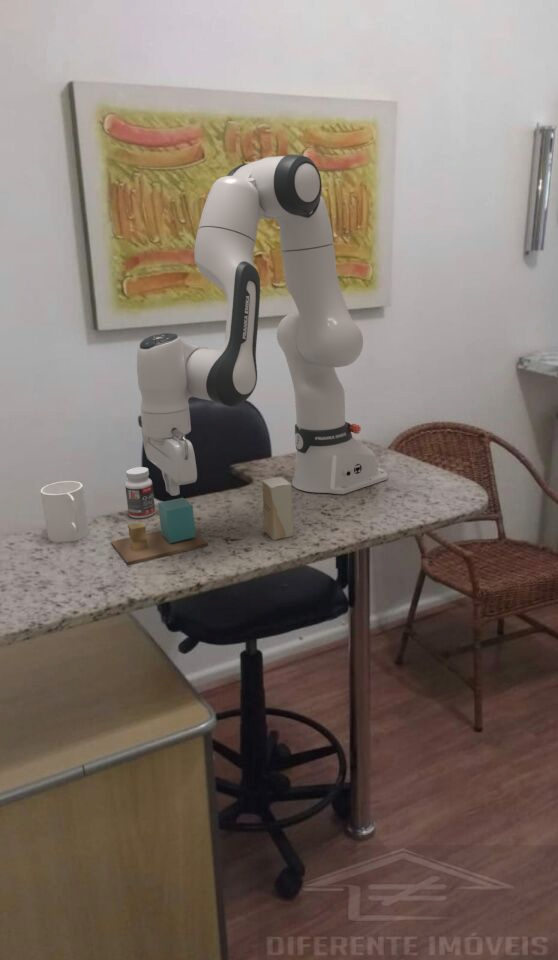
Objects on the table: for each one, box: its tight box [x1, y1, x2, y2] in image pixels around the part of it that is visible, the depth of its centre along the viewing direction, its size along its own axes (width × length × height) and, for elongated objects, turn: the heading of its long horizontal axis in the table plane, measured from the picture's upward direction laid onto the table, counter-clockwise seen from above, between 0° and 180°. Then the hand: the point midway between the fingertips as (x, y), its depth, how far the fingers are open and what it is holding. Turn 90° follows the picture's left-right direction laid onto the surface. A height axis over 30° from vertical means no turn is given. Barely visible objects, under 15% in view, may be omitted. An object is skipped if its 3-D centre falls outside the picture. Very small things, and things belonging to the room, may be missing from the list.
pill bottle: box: [124, 466, 156, 519], centre depth 160 cm, size 6×6×10 cm
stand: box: [111, 521, 209, 566], centre depth 144 cm, size 16×11×7 cm
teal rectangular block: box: [157, 497, 196, 543], centre depth 145 cm, size 5×5×7 cm
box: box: [261, 476, 294, 541], centre depth 145 cm, size 5×4×11 cm
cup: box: [40, 480, 90, 543], centre depth 150 cm, size 8×12×10 cm
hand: (173, 493), depth 143 cm, fingers closed
